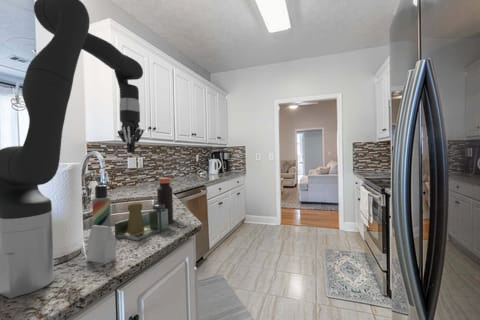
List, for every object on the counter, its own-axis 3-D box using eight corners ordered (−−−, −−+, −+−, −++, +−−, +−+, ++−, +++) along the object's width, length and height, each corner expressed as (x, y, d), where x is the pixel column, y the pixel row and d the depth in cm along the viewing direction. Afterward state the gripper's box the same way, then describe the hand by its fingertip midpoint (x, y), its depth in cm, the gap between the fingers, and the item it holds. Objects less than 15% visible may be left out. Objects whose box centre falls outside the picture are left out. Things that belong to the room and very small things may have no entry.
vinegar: (157, 223, 104) (156, 179, 104) (158, 219, 111) (157, 177, 110) (172, 222, 106) (171, 178, 105) (173, 218, 113) (172, 177, 112)
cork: (137, 233, 86) (136, 204, 86) (123, 232, 88) (122, 204, 88) (147, 228, 92) (146, 201, 92) (134, 227, 94) (133, 200, 93)
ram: (159, 227, 93) (158, 206, 92) (150, 225, 94) (149, 205, 94) (167, 223, 97) (167, 204, 97) (158, 222, 99) (158, 203, 99)
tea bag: (105, 264, 66) (104, 229, 65) (87, 260, 68) (86, 227, 68) (115, 258, 69) (115, 225, 69) (99, 255, 71) (98, 223, 71)
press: (138, 241, 83) (138, 218, 83) (115, 236, 88) (114, 215, 88) (169, 227, 97) (169, 209, 97) (147, 224, 102) (147, 206, 102)
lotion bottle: (95, 236, 88) (94, 184, 88) (112, 234, 90) (111, 183, 90) (91, 241, 83) (89, 186, 82) (109, 239, 85) (107, 185, 84)
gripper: (110, 110, 95) (111, 153, 95) (133, 107, 89) (135, 152, 90) (126, 113, 101) (127, 153, 102) (148, 110, 96) (149, 152, 96)
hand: (131, 152), depth 96 cm, fingers closed
